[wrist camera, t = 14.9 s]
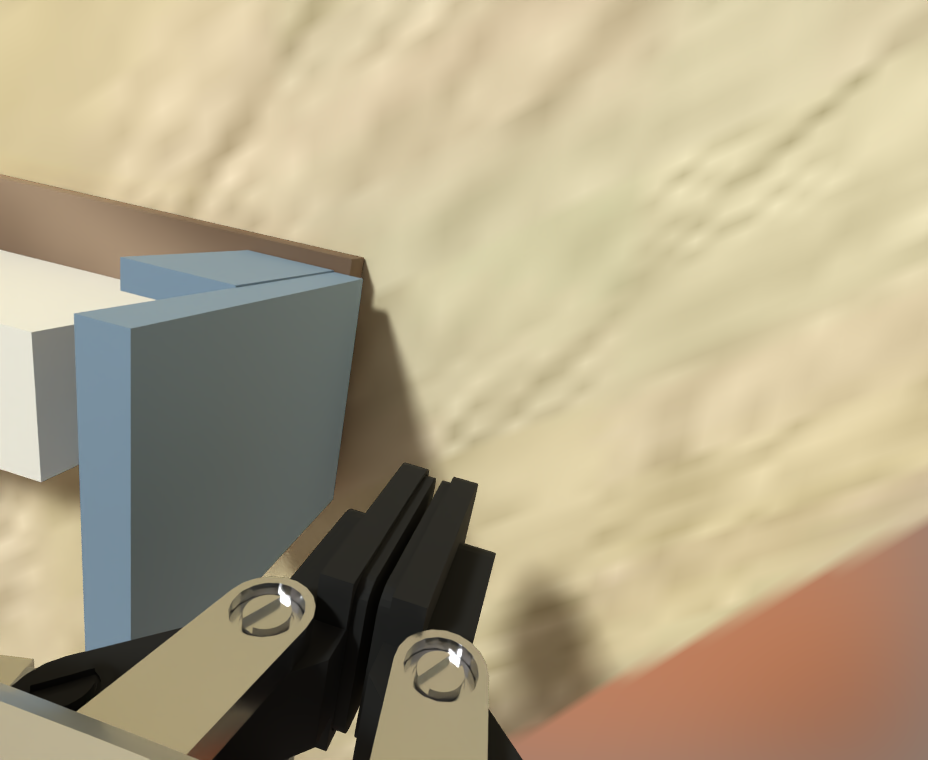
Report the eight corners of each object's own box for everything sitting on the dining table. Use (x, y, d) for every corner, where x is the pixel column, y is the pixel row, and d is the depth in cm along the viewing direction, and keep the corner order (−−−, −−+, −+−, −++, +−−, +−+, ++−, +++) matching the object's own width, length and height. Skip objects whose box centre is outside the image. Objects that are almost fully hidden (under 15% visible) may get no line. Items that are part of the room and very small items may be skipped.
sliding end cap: (332, 500, 19) (130, 720, 10) (233, 470, 19) (-37, 655, 11) (363, 277, 16) (130, 325, 8) (248, 250, 17) (-86, 267, 8)
